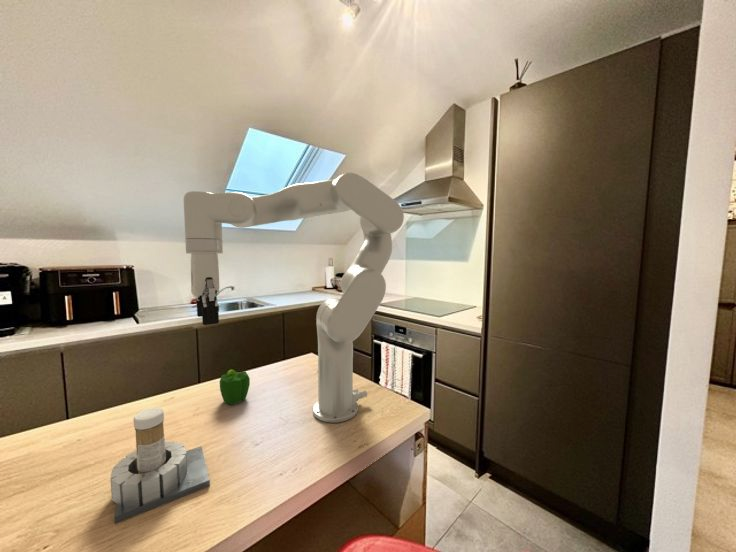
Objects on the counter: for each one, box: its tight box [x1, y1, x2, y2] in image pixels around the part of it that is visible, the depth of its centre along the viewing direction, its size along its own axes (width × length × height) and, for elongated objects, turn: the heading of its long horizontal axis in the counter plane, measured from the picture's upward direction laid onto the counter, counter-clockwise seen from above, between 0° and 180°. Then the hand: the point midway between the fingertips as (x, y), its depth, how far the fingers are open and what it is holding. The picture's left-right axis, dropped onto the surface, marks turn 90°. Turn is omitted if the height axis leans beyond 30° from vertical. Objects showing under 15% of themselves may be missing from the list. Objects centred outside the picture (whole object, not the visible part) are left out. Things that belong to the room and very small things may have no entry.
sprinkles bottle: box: [133, 407, 166, 474], centre depth 57 cm, size 5×5×13 cm
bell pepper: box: [219, 369, 251, 406], centre depth 90 cm, size 8×8×10 cm
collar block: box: [110, 441, 211, 524], centre depth 58 cm, size 15×12×5 cm
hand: (207, 319), depth 72 cm, fingers open, 9 cm apart
